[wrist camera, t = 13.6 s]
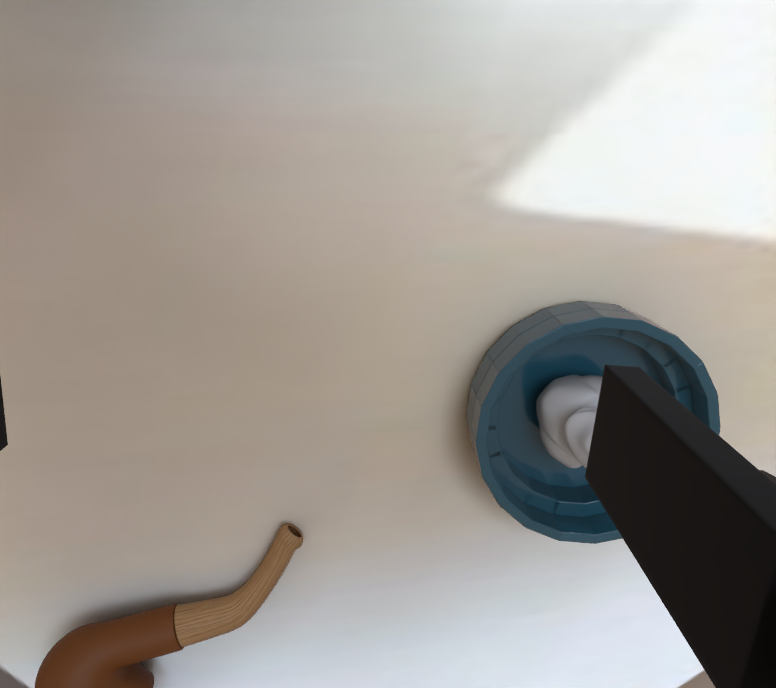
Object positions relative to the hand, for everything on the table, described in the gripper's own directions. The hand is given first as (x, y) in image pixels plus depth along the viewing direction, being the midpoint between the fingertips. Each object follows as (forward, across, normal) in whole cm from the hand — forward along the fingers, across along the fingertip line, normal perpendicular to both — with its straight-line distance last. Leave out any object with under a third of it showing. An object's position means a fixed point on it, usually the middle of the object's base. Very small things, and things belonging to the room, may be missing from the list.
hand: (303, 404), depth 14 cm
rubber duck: (+23, +14, -9) cm, 29 cm away
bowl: (+24, +14, -9) cm, 29 cm away
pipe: (+24, -10, -24) cm, 35 cm away
